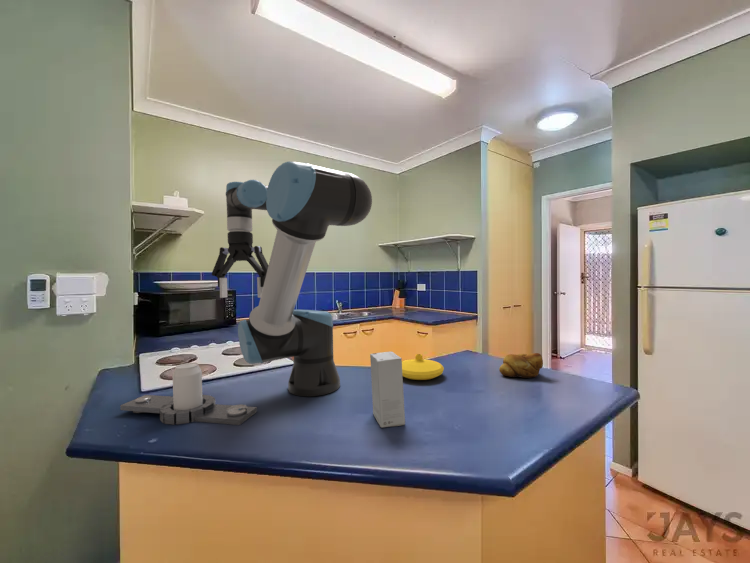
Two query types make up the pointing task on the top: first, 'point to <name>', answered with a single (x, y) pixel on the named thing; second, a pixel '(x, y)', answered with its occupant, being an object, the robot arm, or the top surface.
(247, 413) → the grey pipe clamp bracket
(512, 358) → the bread roll
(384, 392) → the skincare box
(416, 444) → the top surface
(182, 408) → the beverage can
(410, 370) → the yellow lidded dish
